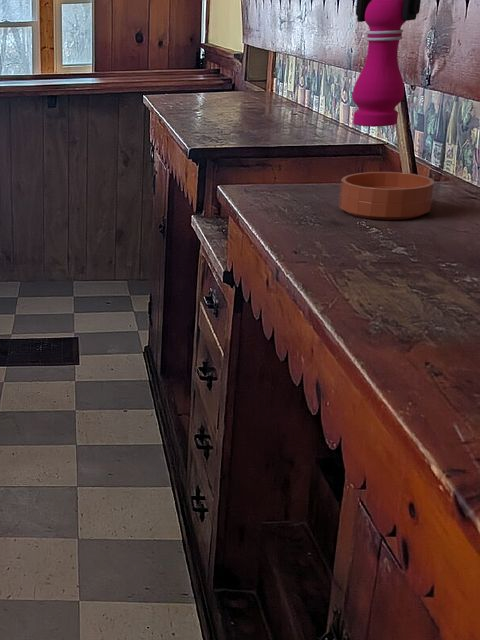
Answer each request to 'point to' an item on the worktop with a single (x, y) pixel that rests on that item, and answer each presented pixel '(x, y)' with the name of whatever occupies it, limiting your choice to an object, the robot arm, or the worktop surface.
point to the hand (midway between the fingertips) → (386, 19)
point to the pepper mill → (380, 66)
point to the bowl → (386, 195)
